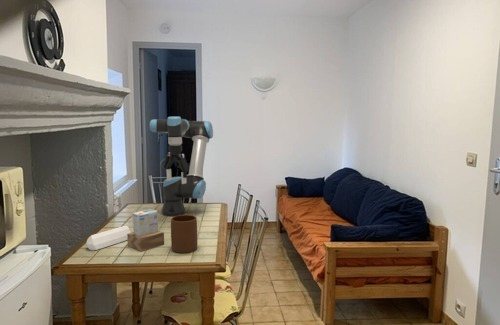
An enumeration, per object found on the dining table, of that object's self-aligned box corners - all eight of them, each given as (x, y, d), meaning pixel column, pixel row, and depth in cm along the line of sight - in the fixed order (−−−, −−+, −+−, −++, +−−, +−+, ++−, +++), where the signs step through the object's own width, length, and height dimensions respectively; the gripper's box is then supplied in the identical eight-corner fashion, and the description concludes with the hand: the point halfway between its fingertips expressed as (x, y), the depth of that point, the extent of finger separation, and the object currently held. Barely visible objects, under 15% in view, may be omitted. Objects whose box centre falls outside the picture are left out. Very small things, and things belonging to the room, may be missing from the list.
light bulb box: (151, 229, 195) (151, 208, 193) (159, 231, 190) (158, 210, 189) (132, 233, 187) (131, 212, 186) (139, 237, 182) (138, 215, 181)
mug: (175, 239, 197) (174, 210, 195) (199, 239, 198) (199, 210, 196) (169, 254, 178) (168, 222, 175) (196, 253, 178) (195, 221, 176)
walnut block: (127, 245, 188) (127, 233, 188) (150, 239, 198) (149, 227, 197) (141, 251, 181) (140, 238, 180) (164, 244, 190) (163, 232, 189)
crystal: (123, 228, 204) (81, 240, 185) (130, 223, 200) (87, 236, 181) (128, 241, 203) (86, 255, 184) (135, 237, 199) (92, 250, 180)
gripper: (156, 143, 218) (158, 180, 221) (183, 146, 201) (185, 186, 205) (167, 142, 223) (168, 178, 227) (194, 145, 207) (196, 183, 210)
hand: (176, 181), depth 216 cm, fingers open, 13 cm apart
